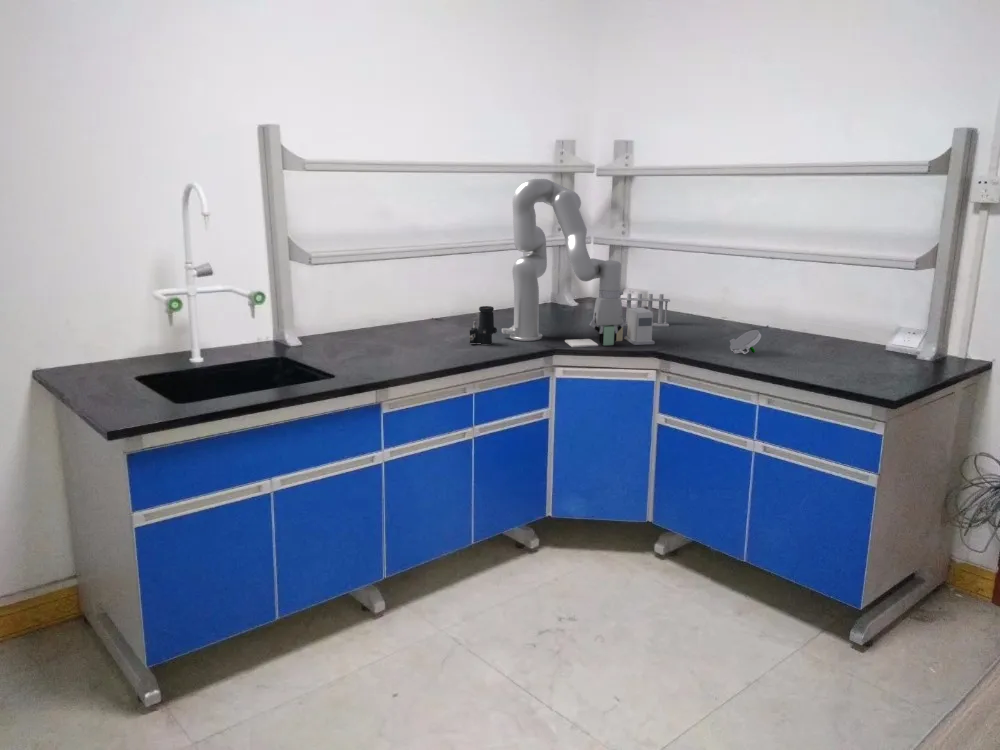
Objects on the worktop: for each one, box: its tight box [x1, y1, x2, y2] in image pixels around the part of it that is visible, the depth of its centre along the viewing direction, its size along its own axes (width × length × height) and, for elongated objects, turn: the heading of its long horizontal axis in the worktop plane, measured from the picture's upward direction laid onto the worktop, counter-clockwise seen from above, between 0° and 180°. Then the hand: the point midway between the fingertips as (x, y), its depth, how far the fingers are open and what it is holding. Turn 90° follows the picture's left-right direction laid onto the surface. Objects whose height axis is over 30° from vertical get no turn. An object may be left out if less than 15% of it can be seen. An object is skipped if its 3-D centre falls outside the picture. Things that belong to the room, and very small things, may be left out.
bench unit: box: [623, 307, 656, 346], centre depth 293 cm, size 8×11×12 cm
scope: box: [468, 305, 498, 345], centre depth 288 cm, size 8×14×10 cm
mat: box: [564, 338, 599, 348], centre depth 290 cm, size 10×10×1 cm
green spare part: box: [601, 325, 615, 346], centre depth 287 cm, size 4×4×7 cm
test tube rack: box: [620, 292, 671, 327], centre depth 325 cm, size 25×4×13 cm, turn 82°
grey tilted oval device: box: [728, 329, 762, 355], centre depth 276 cm, size 15×8×11 cm
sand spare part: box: [615, 327, 624, 342], centre depth 296 cm, size 4×4×7 cm
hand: (606, 342), depth 288 cm, fingers closed on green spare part, 4 cm apart
